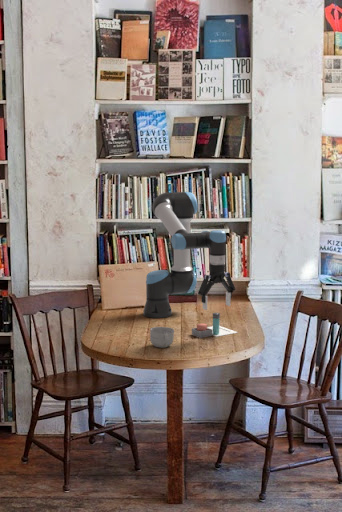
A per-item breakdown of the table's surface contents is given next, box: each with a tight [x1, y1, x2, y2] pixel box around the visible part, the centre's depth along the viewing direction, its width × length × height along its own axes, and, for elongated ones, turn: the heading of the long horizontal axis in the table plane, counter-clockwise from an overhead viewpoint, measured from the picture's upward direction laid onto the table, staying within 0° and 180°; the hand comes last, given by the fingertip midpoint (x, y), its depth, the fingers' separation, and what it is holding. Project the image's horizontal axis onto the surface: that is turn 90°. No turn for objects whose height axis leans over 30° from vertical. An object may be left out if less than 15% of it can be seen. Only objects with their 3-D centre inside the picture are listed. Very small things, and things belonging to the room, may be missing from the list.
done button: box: [196, 323, 208, 331], centre depth 352 cm, size 5×5×3 cm
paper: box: [207, 325, 239, 338], centre depth 360 cm, size 16×13×1 cm
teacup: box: [149, 326, 175, 349], centre depth 333 cm, size 14×11×8 cm
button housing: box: [191, 327, 213, 339], centre depth 353 cm, size 7×7×3 cm
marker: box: [212, 312, 221, 335], centre depth 354 cm, size 3×3×10 cm
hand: (216, 307), depth 352 cm, fingers open, 13 cm apart
